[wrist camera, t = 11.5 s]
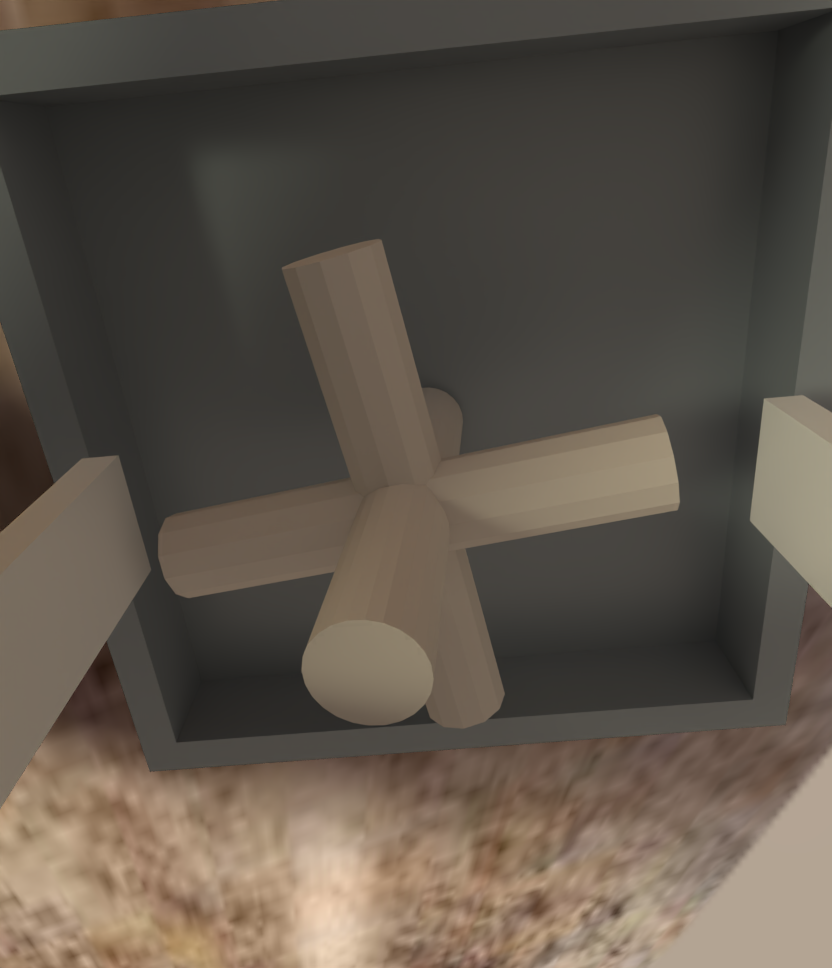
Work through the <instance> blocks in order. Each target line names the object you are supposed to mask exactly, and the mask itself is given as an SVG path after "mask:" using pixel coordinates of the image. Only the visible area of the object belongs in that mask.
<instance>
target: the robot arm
mask: <svg viewBox="0 0 832 968" xmlns="http://www.w3.org/2000/svg"><path fill="white" fill-rule="evenodd" d="M750 521H751V523H752V524H753V525H754V526H755V527H756V528H757V529H758V530H759V531H760V532H761V533H762V534H763V535H764V536H765V537H766V539H767V540H768V541H769V542H770V543H771V544H772V545H773V546H774V547H775V548H776V549H777V550H778V551H779V552H780V553H781V554H782V556H783V557H784V558H785V559H786V560H787V561H788V562H789V563H790V564H791V565H792V566H793V567H794V568H795V569H796V570H797V572H798V573H799V574H800V575H801V576H802V577H803V578H804V579H805V580H806V581H807V582H808V583H809V584H810V585H811V586H812V588H813V589H814V590H815V591H816V592H817V593H818V594H819V595H820V596H821V597H822V598H823V599H824V600H825V601H826V602H827V604H828V605H829V606H830V607H831V608H832V412H830V411H828V410H827V409H825V408H823V407H822V406H820V405H818V404H817V403H815V402H813V401H812V400H810V399H808V398H807V397H805V396H804V395H798V396H787V397H775V398H764V403H763V411H762V420H761V428H760V437H759V445H758V454H757V462H756V471H755V480H754V488H753V497H752V505H751V514H750ZM150 571H151V567H150V564H149V560H148V557H147V553H146V550H145V546H144V543H143V539H142V536H141V532H140V529H139V525H138V522H137V518H136V515H135V511H134V508H133V504H132V501H131V497H130V494H129V490H128V487H127V483H126V480H125V476H124V473H123V469H122V466H121V462H120V459H119V455H116V456H105V457H93V458H82V459H81V460H80V461H79V462H78V463H76V464H75V465H74V466H73V467H72V468H71V469H70V470H69V471H68V472H67V473H65V474H64V475H63V476H62V477H61V478H60V479H59V480H58V481H57V482H56V483H54V484H53V485H52V486H51V487H50V488H49V489H48V490H47V491H46V492H45V493H43V494H42V495H41V496H40V497H39V498H38V499H37V500H36V501H35V502H33V503H32V504H31V505H30V506H29V507H28V508H27V509H26V510H25V511H24V512H22V513H21V514H20V515H19V516H18V517H17V518H16V519H15V520H14V521H13V522H11V523H10V524H9V525H8V526H7V527H6V528H5V529H4V530H3V531H2V532H0V808H1V807H2V805H3V803H4V802H5V800H6V799H7V797H8V796H9V794H10V792H11V791H12V789H13V788H14V786H15V784H16V783H17V781H18V780H19V778H20V777H21V775H22V773H23V772H24V770H25V769H26V767H27V766H28V764H29V762H30V761H31V759H32V758H33V756H34V754H35V753H36V751H37V750H38V748H39V747H40V745H41V743H42V742H43V740H44V739H45V737H46V736H47V734H48V732H49V731H50V729H51V728H52V726H53V724H54V723H55V721H56V720H57V718H58V717H59V715H60V713H61V712H62V710H63V709H64V707H65V706H66V704H67V702H68V701H69V699H70V698H71V696H72V694H73V693H74V691H75V690H76V688H77V687H78V685H79V683H80V682H81V680H82V679H83V677H84V676H85V674H86V672H87V671H88V669H89V668H90V666H91V664H92V663H93V661H94V660H95V658H96V657H97V655H98V653H99V652H100V650H101V649H102V647H103V645H104V644H105V642H106V641H107V639H108V638H109V636H110V634H111V633H112V631H113V630H114V628H115V627H116V625H117V623H118V622H119V620H120V619H121V617H122V615H123V614H124V612H125V611H126V609H127V608H128V606H129V604H130V603H131V601H132V600H133V598H134V597H135V595H136V593H137V592H138V590H139V589H140V587H141V585H142V584H143V582H144V581H145V579H146V578H147V576H148V574H149V573H150Z"/></svg>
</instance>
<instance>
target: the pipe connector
mask: <svg viewBox="0 0 832 968" xmlns="http://www.w3.org/2000/svg"><path fill="white" fill-rule="evenodd" d="M282 272H283V275H284V278H285V281H286V284H287V287H288V290H289V293H290V296H291V299H292V302H293V305H294V308H295V311H296V314H297V317H298V320H299V323H300V326H301V329H302V332H303V335H304V338H305V341H306V344H307V347H308V350H309V353H310V356H311V359H312V362H313V365H314V368H315V371H316V374H317V377H318V380H319V383H320V387H321V390H322V393H323V396H324V399H325V402H326V405H327V408H328V411H329V414H330V417H331V420H332V423H333V426H334V429H335V432H336V435H337V438H338V441H339V444H340V447H341V450H342V453H343V456H344V459H345V462H346V465H347V468H348V471H349V474H350V478H345V479H340V480H335V481H331V482H326V483H321V484H316V485H311V486H306V487H302V488H297V489H292V490H287V491H282V492H277V493H273V494H268V495H263V496H258V497H253V498H248V499H244V500H239V501H234V502H229V503H224V504H219V505H215V506H210V507H205V508H200V509H195V510H190V511H186V512H181V513H176V514H174V515H172V516H170V517H167V518H165V520H164V523H163V525H162V527H161V529H160V532H159V534H158V558H159V562H160V565H161V569H162V572H163V576H164V579H165V580H166V582H167V583H168V584H169V586H170V587H171V588H172V590H173V591H174V592H175V594H177V595H180V596H183V597H186V598H192V597H198V596H203V595H209V594H214V593H220V592H225V591H231V590H237V589H242V588H248V587H253V586H259V585H264V584H270V583H275V582H281V581H287V580H292V579H298V578H303V577H309V576H314V575H320V574H325V573H331V572H334V575H333V577H332V580H331V582H330V585H329V588H328V590H327V593H326V596H325V598H324V601H323V604H322V606H321V609H320V612H319V614H318V617H317V620H316V622H315V625H314V628H313V630H312V633H311V636H310V638H309V641H308V644H307V646H306V649H305V652H304V654H303V657H302V670H301V671H302V675H303V679H304V683H305V685H306V687H307V689H308V690H309V692H310V694H311V695H312V697H313V698H314V699H315V700H316V701H317V702H318V703H319V704H320V705H321V706H322V707H323V708H324V709H326V710H327V711H329V712H330V713H332V714H334V715H335V716H337V717H339V718H342V719H344V720H347V721H350V722H352V723H357V724H363V725H388V724H392V723H396V722H400V721H402V720H404V719H406V718H408V717H410V716H412V715H414V714H415V713H416V712H417V711H418V710H419V709H420V708H421V707H422V706H424V705H425V704H426V707H427V710H428V713H429V716H430V718H431V719H432V720H434V721H435V722H437V723H438V724H440V725H441V726H443V727H448V728H461V729H464V728H467V727H470V726H473V725H477V724H480V723H483V722H485V721H486V720H487V719H488V718H490V717H491V716H492V715H493V714H494V713H495V712H497V711H498V710H499V709H500V706H501V703H502V701H503V698H504V695H505V693H504V689H503V685H502V682H501V678H500V674H499V670H498V667H497V663H496V659H495V656H494V652H493V648H492V645H491V641H490V637H489V634H488V630H487V626H486V623H485V619H484V615H483V612H482V608H481V604H480V601H479V597H478V593H477V590H476V586H475V582H474V579H473V575H472V571H471V567H470V564H469V560H468V556H467V553H466V549H465V548H470V547H476V546H481V545H487V544H492V543H498V542H503V541H509V540H514V539H520V538H526V537H531V536H537V535H542V534H548V533H553V532H559V531H564V530H570V529H576V528H581V527H587V526H592V525H598V524H603V523H609V522H615V521H620V520H626V519H631V518H637V517H642V516H648V515H653V514H659V513H665V512H670V511H676V510H678V507H679V504H680V497H679V482H678V477H677V471H676V465H675V460H674V455H673V451H672V447H671V443H670V440H669V436H668V432H667V430H666V427H665V425H664V422H663V420H662V418H661V416H659V415H658V414H654V415H650V416H645V417H640V418H635V419H630V420H625V421H621V422H616V423H611V424H606V425H601V426H596V427H592V428H587V429H582V430H577V431H572V432H567V433H563V434H558V435H553V436H548V437H543V438H538V439H534V440H529V441H524V442H519V443H514V444H509V445H505V446H500V447H495V448H490V449H485V450H480V451H476V452H471V453H466V454H461V455H459V453H460V444H461V435H462V426H463V417H462V412H461V409H460V407H459V405H458V403H457V402H456V401H455V400H454V398H453V397H451V396H450V395H449V394H448V393H446V392H444V391H442V390H439V389H436V388H429V387H427V388H422V387H421V384H420V380H419V376H418V373H417V369H416V365H415V362H414V358H413V354H412V350H411V347H410V343H409V339H408V336H407V332H406V328H405V325H404V321H403V317H402V314H401V310H400V306H399V303H398V299H397V295H396V292H395V288H394V284H393V281H392V277H391V273H390V270H389V266H388V262H387V259H386V255H385V251H384V247H383V244H382V240H380V239H375V240H369V241H364V242H360V243H356V244H352V245H348V246H344V247H340V248H337V249H333V250H330V251H327V252H323V253H320V254H317V255H314V256H311V257H308V258H305V259H302V260H299V261H296V262H293V263H291V264H289V265H286V266H284V267H282Z"/></svg>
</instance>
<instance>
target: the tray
mask: <svg viewBox="0 0 832 968" xmlns="http://www.w3.org/2000/svg"><path fill="white" fill-rule="evenodd" d="M375 239H380V240H382V244H383V247H384V251H385V255H386V259H387V262H388V266H389V270H390V273H391V277H392V281H393V284H394V288H395V292H396V295H397V299H398V303H399V306H400V310H401V314H402V317H403V321H404V325H405V328H406V332H407V336H408V339H409V343H410V347H411V350H412V354H413V358H414V362H415V365H416V369H417V373H418V376H419V380H420V384H421V387H422V388H427V387H429V388H436V389H439V390H442V391H444V392H446V393H448V394H449V395H450V396H451V397H453V398H454V400H455V401H456V402H457V403H458V405H459V407H460V409H461V412H462V417H463V426H462V435H461V444H460V453H459V455H461V454H466V453H471V452H476V451H480V450H485V449H490V448H495V447H500V446H505V445H509V444H514V443H519V442H524V441H529V440H534V439H538V438H543V437H548V436H553V435H558V434H563V433H567V432H572V431H577V430H582V429H587V428H592V427H596V426H601V425H606V424H611V423H616V422H621V421H625V420H630V419H635V418H640V417H645V416H650V415H654V414H658V415H659V416H661V418H662V420H663V422H664V425H665V427H666V430H667V432H668V436H669V440H670V443H671V447H672V451H673V455H674V460H675V465H676V471H677V477H678V482H679V497H680V504H679V507H678V510H676V511H670V512H665V513H659V514H653V515H648V516H642V517H637V518H631V519H626V520H620V521H615V522H609V523H603V524H598V525H592V526H587V527H581V528H576V529H570V530H564V531H559V532H553V533H548V534H542V535H537V536H531V537H526V538H520V539H514V540H509V541H503V542H498V543H492V544H487V545H481V546H476V547H470V548H465V549H466V553H467V556H468V560H469V564H470V567H471V571H472V575H473V579H474V582H475V586H476V590H477V593H478V597H479V601H480V604H481V608H482V612H483V615H484V619H485V623H486V626H487V630H488V634H489V637H490V641H491V645H492V648H493V652H494V656H495V659H496V663H497V667H498V670H499V674H500V678H501V682H502V685H503V689H504V693H505V695H504V698H503V701H502V703H501V706H500V709H499V710H498V711H497V712H495V713H494V714H493V715H492V716H491V717H490V718H488V719H487V720H486V721H485V722H483V723H480V724H477V725H473V726H470V727H467V728H464V729H461V728H448V727H443V726H441V725H440V724H438V723H437V722H435V721H434V720H432V719H431V718H430V716H429V713H428V710H427V707H426V704H425V705H424V706H422V707H421V708H420V709H419V710H418V711H417V712H416V713H415V714H414V715H412V716H410V717H408V718H406V719H404V720H402V721H400V722H396V723H392V724H388V725H363V724H357V723H352V722H350V721H347V720H344V719H342V718H339V717H337V716H335V715H334V714H332V713H330V712H329V711H327V710H326V709H324V708H323V707H322V706H321V705H320V704H319V703H318V702H317V701H316V700H315V699H314V698H313V697H312V695H311V694H310V692H309V690H308V689H307V687H306V685H305V683H304V679H303V675H302V671H301V670H302V657H303V654H304V652H305V649H306V646H307V644H308V641H309V638H310V636H311V633H312V630H313V628H314V625H315V622H316V620H317V617H318V614H319V612H320V609H321V606H322V604H323V601H324V598H325V596H326V593H327V590H328V588H329V585H330V582H331V580H332V577H333V575H334V572H331V573H325V574H320V575H314V576H309V577H303V578H298V579H292V580H287V581H281V582H275V583H270V584H264V585H259V586H253V587H248V588H242V589H237V590H231V591H225V592H220V593H214V594H209V595H203V596H198V597H192V598H186V597H183V596H180V595H177V594H175V592H174V591H173V590H172V588H171V587H170V586H169V584H168V583H167V582H166V580H165V579H164V576H163V572H162V569H161V565H160V562H159V558H158V534H159V532H160V529H161V527H162V525H163V523H164V520H165V518H167V517H170V516H172V515H174V514H176V513H181V512H186V511H190V510H195V509H200V508H205V507H210V506H215V505H219V504H224V503H229V502H234V501H239V500H244V499H248V498H253V497H258V496H263V495H268V494H273V493H277V492H282V491H287V490H292V489H297V488H302V487H306V486H311V485H316V484H321V483H326V482H331V481H335V480H340V479H345V478H350V474H349V471H348V468H347V465H346V462H345V459H344V456H343V453H342V450H341V447H340V444H339V441H338V438H337V435H336V432H335V429H334V426H333V423H332V420H331V417H330V414H329V411H328V408H327V405H326V402H325V399H324V396H323V393H322V390H321V387H320V383H319V380H318V377H317V374H316V371H315V368H314V365H313V362H312V359H311V356H310V353H309V350H308V347H307V344H306V341H305V338H304V335H303V332H302V329H301V326H300V323H299V320H298V317H297V314H296V311H295V308H294V305H293V302H292V299H291V296H290V293H289V290H288V287H287V284H286V281H285V278H284V275H283V272H282V267H284V266H286V265H289V264H291V263H293V262H296V261H299V260H302V259H305V258H308V257H311V256H314V255H317V254H320V253H323V252H327V251H330V250H333V249H337V248H340V247H344V246H348V245H352V244H356V243H360V242H364V241H369V240H375ZM0 322H1V325H2V328H3V331H4V334H5V337H6V340H7V343H8V346H9V349H10V352H11V355H12V358H13V361H14V364H15V367H16V370H17V373H18V376H19V379H20V382H21V385H22V388H23V391H24V394H25V397H26V400H27V404H28V407H29V410H30V413H31V416H32V419H33V422H34V425H35V428H36V431H37V434H38V437H39V440H40V443H41V446H42V449H43V452H44V455H45V458H46V461H47V464H48V467H49V470H50V473H51V476H52V479H53V482H54V483H56V482H57V481H58V480H59V479H60V478H61V477H62V476H63V475H64V474H65V473H67V472H68V471H69V470H70V469H71V468H72V467H73V466H74V465H75V464H76V463H78V462H79V461H80V460H81V459H82V458H93V457H105V456H116V455H119V459H120V462H121V466H122V469H123V473H124V476H125V480H126V483H127V487H128V490H129V494H130V497H131V501H132V504H133V508H134V511H135V515H136V518H137V522H138V525H139V529H140V532H141V536H142V539H143V543H144V546H145V550H146V553H147V557H148V560H149V564H150V567H151V571H150V573H149V574H148V576H147V578H146V579H145V581H144V582H143V584H142V585H141V587H140V589H139V590H138V592H137V593H136V595H135V597H134V598H133V600H132V601H131V603H130V604H129V606H128V608H127V609H126V611H125V612H124V614H123V615H122V617H121V619H120V620H119V622H118V623H117V625H116V627H115V628H114V630H113V631H112V633H111V634H110V636H109V638H108V639H107V644H108V647H109V650H110V653H111V656H112V659H113V662H114V665H115V668H116V671H117V674H118V677H119V680H120V683H121V686H122V689H123V692H124V695H125V698H126V701H127V704H128V707H129V710H130V713H131V716H132V719H133V722H134V725H135V728H136V731H137V734H138V737H139V740H140V743H141V746H142V749H143V752H144V755H145V758H146V761H147V764H148V767H149V770H150V772H151V771H164V770H178V769H191V768H205V767H219V766H232V765H246V764H260V763H273V762H287V761H300V760H314V759H328V758H341V757H355V756H369V755H382V754H396V753H409V752H423V751H437V750H450V749H464V748H478V747H491V746H505V745H519V744H532V743H546V742H559V741H573V740H587V739H600V738H614V737H628V736H641V735H655V734H668V733H682V732H696V731H709V730H723V729H737V728H750V727H764V726H777V725H786V720H787V714H788V708H789V702H790V695H791V689H792V683H793V677H794V671H795V665H796V658H797V652H798V646H799V640H800V634H801V628H802V622H803V615H804V609H805V603H806V597H807V591H808V585H809V583H808V582H807V581H806V580H805V579H804V578H803V577H802V576H801V575H800V574H799V573H798V572H797V570H796V569H795V568H794V567H793V566H792V565H791V564H790V563H789V562H788V561H787V560H786V559H785V558H784V557H783V556H782V554H781V553H780V552H779V551H778V550H777V549H776V548H775V547H774V546H773V545H772V544H771V543H770V542H769V541H768V540H767V539H766V537H765V536H764V535H763V534H762V533H761V532H760V531H759V530H758V529H757V528H756V527H755V526H754V525H753V524H752V523H751V521H750V514H751V505H752V497H753V488H754V480H755V471H756V462H757V454H758V445H759V437H760V428H761V420H762V411H763V403H764V398H775V397H787V396H798V395H804V396H805V397H807V398H808V399H810V400H812V401H813V402H815V403H817V404H818V405H820V406H822V407H823V408H825V409H827V410H828V411H830V412H832V0H279V1H270V2H261V3H252V4H242V5H233V6H224V7H215V8H205V9H196V10H187V11H178V12H168V13H159V14H150V15H141V16H131V17H122V18H113V19H103V20H94V21H85V22H76V23H66V24H57V25H48V26H39V27H29V28H20V29H11V30H2V31H0Z"/></svg>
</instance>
